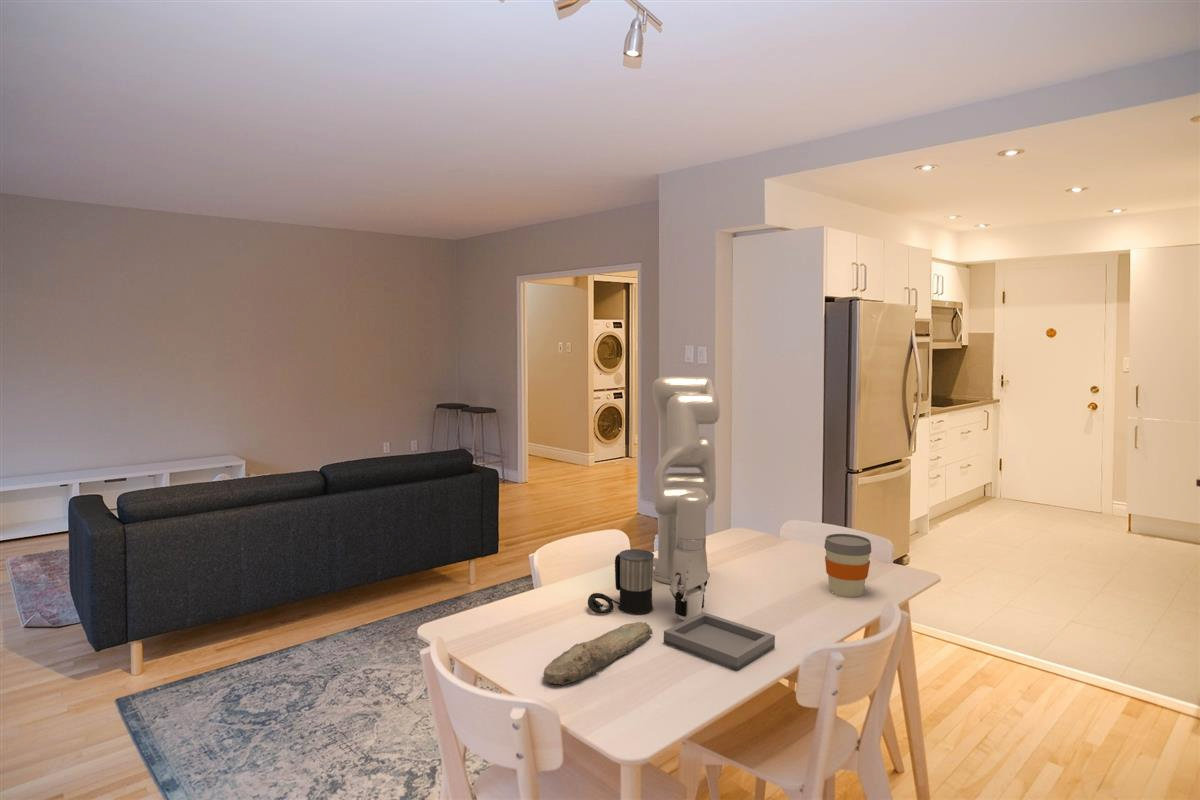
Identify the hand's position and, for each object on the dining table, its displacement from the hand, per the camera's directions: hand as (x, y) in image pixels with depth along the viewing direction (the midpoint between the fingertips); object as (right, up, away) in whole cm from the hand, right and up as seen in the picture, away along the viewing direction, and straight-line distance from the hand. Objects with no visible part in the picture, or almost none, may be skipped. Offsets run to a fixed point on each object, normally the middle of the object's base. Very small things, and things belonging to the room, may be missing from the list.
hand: (689, 610), depth 182 cm
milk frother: (-17, -2, +5) cm, 18 cm away
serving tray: (+5, -3, -17) cm, 18 cm away
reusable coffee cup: (+47, -1, +19) cm, 51 cm away
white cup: (0, -2, 0) cm, 2 cm away
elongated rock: (-23, -4, -22) cm, 32 cm away
